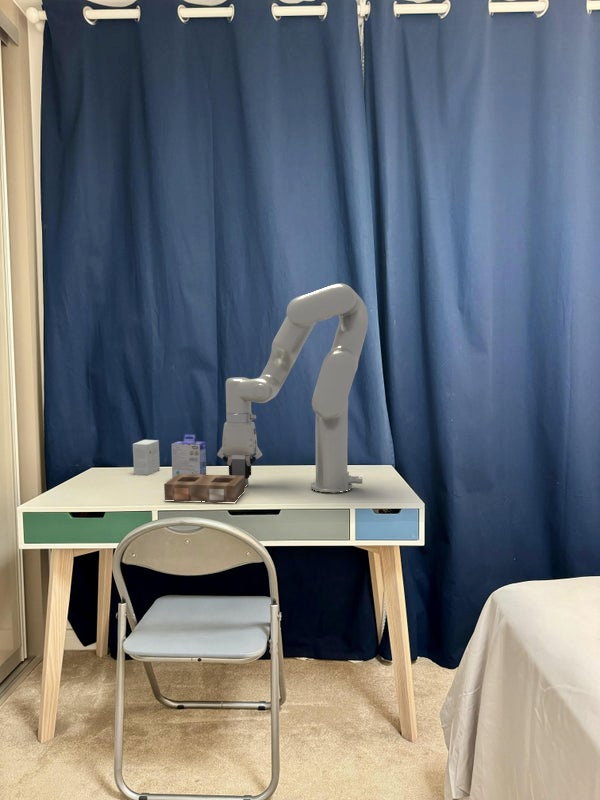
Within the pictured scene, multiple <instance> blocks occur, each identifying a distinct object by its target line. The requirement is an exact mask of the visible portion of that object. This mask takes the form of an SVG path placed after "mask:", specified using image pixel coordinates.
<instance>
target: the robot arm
mask: <svg viewBox="0 0 600 800" xmlns="http://www.w3.org/2000/svg"><path fill="white" fill-rule="evenodd" d="M335 317H338V325H337V328H336V331H335V335H334V336H335V337H334V339H333V343H332V346H331V348H330V351H329V352H328V353H326V355H325V356H324V359H323V361H322V364H321V367H320V370H319V375H318V377H317V380H316V385H315V387H314V391H313V395H312V398H311V406H312V407H311V408H312V410H313V412H314V413H315V426H314V427H315V432H314V433H315V434H314V435H315V481H313V482H311V483H310V489H311V490H312V489H313V490H312V491H314V490H315V491H314V492H317V491H320V492H319V493H321V492H340V491H346V490H349V489H351V488H352V487H353V484H356V485H363V477H362V476H361V477H360V476H358V475H357V476H356V475H355V476H353V475H350V471H348V433H349V431H348V426H349V425H348V422H349V421H348V418H349V417H348V415H349V395H350V393H351V388H352V385H353V383H354V382H353V381H354V379H355V375H356V372H357V371H358V367H359V361H360V356H361V354H362V349H363V347H364V342H365V339H366V335H367V331H368V327H369V326H368V325H369V314H368V309H367V306H366V304H365V302H364V301H363V299H362V298H361V297H360V296H359V294H358V293H357V292H356V291H355V290H354V289H353V288H352V287H351V286H349V285H348V284H346V283H342V282H339V283H334V284H331V285H328V286H326V287H325V286H324V288H323V287H322V288H319V289H317V290H315V291H312V292H309V293H306V294H302V295H299V296H296V297H295V298H293V299H292V300H291V301H290V302H289V303H288V304H287V308H286V316H285V318H284V320H283V322H282V324H281V326H280V328H279V330H278V331H277V333H276V335H275V337H274V338H273V341H272V342H271V343H272V344H271V352H270V355H269V358H268V361H267V363H266V365H265V367H264V368H263V371H262V373H261V374H260V375H259V377H257V378H255V377H254V378H247V377H244V376H243V377H239V376H238V377H230V378H229V377H228V378H227V379H226V381H225V404H226V405H225V409H226V414H225V415H226V416H225V417H226V421H225V422H224V424H223V430H222V440H221V441H222V442H221V443H222V444H221V447H220V449H219V450H218V452H217V454H216V455H217V457H218V458H220V459H222V460H223V461H224V462H225V463H226V465H227V466H228V475H232V455H245V459H246V466H245V478H246V479H248V480H249V478H250V477H251V476H252V464H253V463H254V462H255V461H257V460H258V459H259V458H261V457H262V456H263V453H262V451H261V450H260V448H259V447H258V440H257V439H258V438H257V431H256V424H255V422H254V421H253V420H256V419H257V414H253V413H252V403H257V404H264V403H267V402H269V401H270V400H273V399H274V398H275V397H276V396H277V395H278V394H279V392H280V390H281V389H282V387H283V385H284V383H285V381H286V379H287V378H288V376H289V374H290V372H291V370H292V369H293V366H294V364H295V363H296V361H297V359H298V356H299V355H300V352H301V351H302V348H303V347H304V345H305V344H306V341H307V339H308V338H309V336H310V334H311V332H312V331H313V329H314V327H315V326H316V324H317V323H319V322H323V321H326V320H329V319H331V318H335ZM252 456H253V457H252ZM353 488H354V487H353ZM353 488H352V489H353Z"/></svg>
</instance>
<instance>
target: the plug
mask: <svg viewBox="0 0 600 800" xmlns="http://www.w3.org/2000/svg"><path fill="white" fill-rule="evenodd" d="M245 466H246V459H245V455H232V475H239V476H244V481H245V486H246V485H247V484H248V485H249V478H248V479H246V478H245ZM248 485H247V486H248Z"/></svg>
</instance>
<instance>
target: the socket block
mask: <svg viewBox="0 0 600 800" xmlns="http://www.w3.org/2000/svg"><path fill="white" fill-rule="evenodd" d="M163 486H164V487H163V488H164V489H163V490H164V492H163V493H164V501H165V500H174V501H201V502H202V501H205V502H235V501H236V500H237V499H238V497H239V496H240V495H241V494H242V493H243V492H244V491H245V489H246V488H245V481H244V476H239V475H229V474H206V475H196V474H178V475H177V476H175V477H174V478H172V477H171V479H170V480H167V482H165V483H164V485H163ZM245 492H246V491H245ZM238 500H239V499H238Z"/></svg>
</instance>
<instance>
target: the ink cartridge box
mask: <svg viewBox="0 0 600 800" xmlns="http://www.w3.org/2000/svg"><path fill="white" fill-rule="evenodd" d="M188 437H189V438H188ZM190 437H191V438H190ZM195 439H196V434H186V433H185V434H184V438H183V441H175V442H173V443H171V479H172V478H174V477H175V476H177V475H178V474H196V475H207V450H206V441H196V440H195Z"/></svg>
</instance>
